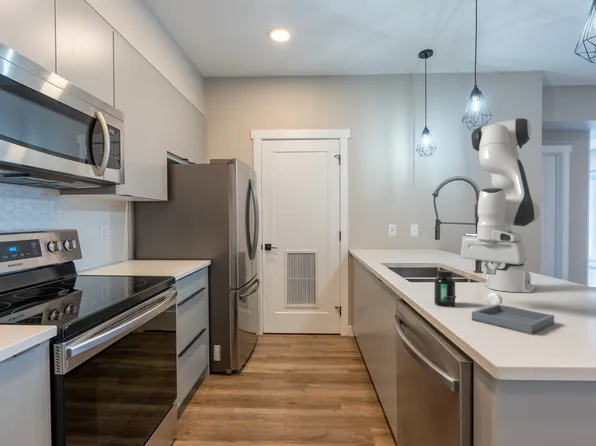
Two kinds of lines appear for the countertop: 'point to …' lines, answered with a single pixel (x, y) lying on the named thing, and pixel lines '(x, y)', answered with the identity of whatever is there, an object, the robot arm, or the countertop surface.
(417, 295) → the countertop surface
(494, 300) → the small white bowl
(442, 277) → the supplement bottle
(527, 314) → the tray
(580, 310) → the countertop surface
